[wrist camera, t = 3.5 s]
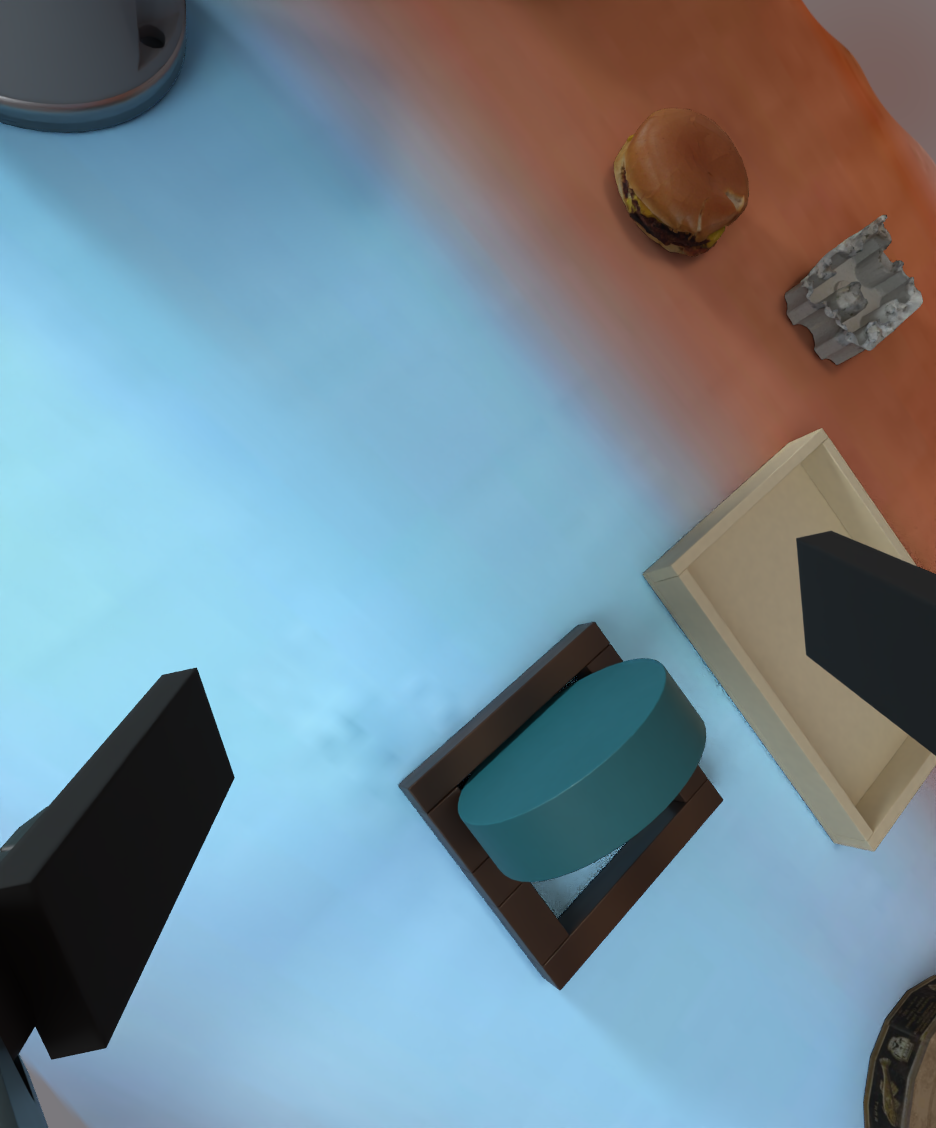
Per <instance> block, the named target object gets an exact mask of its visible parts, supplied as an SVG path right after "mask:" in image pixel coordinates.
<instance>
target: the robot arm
mask: <svg viewBox="0 0 936 1128" xmlns="http://www.w3.org/2000/svg"><path fill="white" fill-rule="evenodd" d="M185 50H186V4H185V0H0V122H1V123H5V124H9V125H13V126H17V127H22V128H27V129H33V130H40V131H50V132H81V131H90V130H97V129H102V128H106V127H110V126H114V125H117V124H120V123H123V122H126V121H128V120H130V119H132V118H134V117H137V116H138V115H140V114H142V113H143V112H145V111H147V110H148V109H150V108H151V107H152V106H154V105H155V104H156V103H157V102H158V101H159V100H160V99H161V98H162V97H163V96H164V95H165V94H166V93H167V92H168V91H169V89H170V88H171V87H172V85H173V84H174V82H175V80H176V78H177V77H178V75H179V72H180V70H181V67H182V64H183V60H184V57H185ZM796 543H797V555H798V566H799V578H800V590H801V602H802V613H803V625H804V637H805V649H806V656H808V657H809V658H810V659H812V660H813V661H814V662H815V663H817V664H818V665H819V666H821V667H822V668H823V669H824V670H826V671H827V672H828V673H830V674H831V675H832V676H833V677H835V678H836V679H837V680H839V681H840V682H841V683H842V684H844V685H845V686H846V687H848V688H849V689H850V690H851V691H853V692H854V693H855V694H857V695H858V696H859V697H860V698H862V699H863V700H864V701H866V702H867V703H868V704H869V705H871V706H872V707H873V708H875V709H876V710H877V711H879V712H880V713H881V714H882V715H884V716H885V717H886V718H888V719H889V720H890V721H891V722H893V723H894V724H895V725H897V726H898V727H899V728H900V729H902V730H903V731H904V732H906V733H907V734H908V735H909V736H911V737H912V738H913V739H915V740H916V741H917V742H918V743H920V744H921V745H922V746H924V747H925V748H926V749H927V750H929V751H930V752H931V753H933V754H934V755H935V756H936V574H934V573H932V572H929V571H927V570H925V569H922V568H920V567H917V566H915V565H913V564H910V563H908V562H905V561H903V560H901V559H898V558H896V557H893V556H891V555H889V554H886V553H884V552H881V551H879V550H877V549H874V548H872V547H869V546H867V545H865V544H862V543H860V542H857V541H855V540H853V539H850V538H848V537H845V536H843V535H841V534H838V533H836V532H833V531H827V532H823V533H818V534H813V535H809V536H804V537H799V538H796ZM234 778H235V777H234V774H233V771H232V769H231V766H230V763H229V760H228V757H227V754H226V751H225V748H224V745H223V742H222V739H221V737H220V734H219V731H218V728H217V725H216V722H215V719H214V716H213V713H212V710H211V707H210V704H209V702H208V699H207V696H206V693H205V690H204V687H203V684H202V681H201V678H200V675H199V672H198V670H197V668H193V669H188V670H183V671H179V672H174V673H169V674H165V675H162V676H161V677H160V678H159V679H158V680H157V682H156V683H155V684H154V685H153V686H152V687H151V689H150V690H149V691H148V692H147V693H146V694H145V695H144V697H143V698H142V699H141V700H140V701H139V702H138V704H137V705H136V706H135V707H134V708H133V709H132V710H131V712H130V713H129V714H128V715H127V716H126V717H125V719H124V720H123V721H122V722H121V723H120V724H119V726H118V727H117V728H116V729H115V730H114V731H113V732H112V734H111V735H110V736H109V737H108V738H107V739H106V741H105V742H104V743H103V744H102V745H101V746H100V747H99V749H98V750H97V751H96V752H95V753H94V754H93V756H92V757H91V758H90V759H89V760H88V761H87V763H86V764H85V765H84V766H83V767H82V768H81V769H80V771H79V772H78V773H77V774H76V775H75V776H74V778H73V779H72V780H71V781H70V782H69V783H68V784H67V786H66V787H65V788H64V789H63V790H62V791H61V793H60V794H59V795H58V796H57V797H56V798H55V799H54V801H53V802H52V803H51V804H50V805H49V806H48V807H46V808H45V809H43V810H42V811H41V812H39V813H38V814H37V815H35V816H34V817H33V818H31V819H30V820H29V821H27V822H26V823H25V824H23V825H22V826H21V827H19V828H18V829H17V830H16V832H15V833H14V834H13V835H12V836H11V837H10V838H9V839H8V841H7V842H6V843H5V844H4V845H3V846H2V847H1V848H0V1128H48V1126H47V1123H46V1120H45V1117H44V1114H43V1112H42V1109H41V1106H40V1103H39V1101H38V1098H37V1095H36V1092H35V1090H34V1087H33V1084H32V1081H31V1079H30V1076H29V1073H28V1071H27V1069H26V1067H25V1065H24V1063H23V1061H22V1059H21V1057H20V1055H19V1052H20V1051H21V1049H22V1047H23V1046H24V1044H25V1042H26V1041H27V1039H28V1037H29V1036H30V1034H31V1032H32V1031H33V1029H34V1027H36V1029H37V1031H38V1033H39V1035H40V1037H41V1039H42V1041H43V1043H44V1045H45V1047H46V1049H47V1051H48V1053H49V1055H50V1058H51V1060H52V1059H57V1058H61V1057H66V1056H71V1055H76V1054H80V1053H85V1052H90V1051H95V1050H99V1049H104V1048H106V1047H107V1045H108V1043H109V1041H110V1039H111V1037H112V1035H113V1032H114V1030H115V1028H116V1026H117V1024H118V1022H119V1020H120V1018H121V1016H122V1014H123V1011H124V1009H125V1007H126V1005H127V1003H128V1001H129V999H130V997H131V995H132V993H133V990H134V988H135V986H136V984H137V982H138V980H139V978H140V976H141V974H142V971H143V969H144V967H145V965H146V963H147V961H148V959H149V957H150V955H151V953H152V950H153V948H154V946H155V944H156V942H157V940H158V938H159V936H160V934H161V932H162V929H163V927H164V925H165V923H166V921H167V919H168V917H169V915H170V913H171V910H172V908H173V906H174V904H175V902H176V900H177V898H178V896H179V894H180V892H181V889H182V887H183V885H184V883H185V881H186V879H187V877H188V875H189V873H190V871H191V868H192V866H193V864H194V862H195V860H196V858H197V856H198V854H199V852H200V849H201V847H202V845H203V843H204V841H205V839H206V837H207V835H208V833H209V831H210V828H211V826H212V824H213V822H214V820H215V818H216V816H217V814H218V812H219V810H220V807H221V805H222V803H223V801H224V799H225V797H226V795H227V793H228V791H229V788H230V786H231V784H232V782H233V780H234Z"/></svg>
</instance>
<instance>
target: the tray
mask: <svg viewBox="0 0 936 1128" xmlns="http://www.w3.org/2000/svg"><path fill="white" fill-rule="evenodd" d="M827 531H833V532H836V533H838V534H841V535H843V536H845V537H848V538H850V539H853V540H855V541H857V542H860V543H862V544H865V545H867V546H869V547H872V548H874V549H877V550H879V551H881V552H884V553H886V554H889V555H891V556H893V557H896V558H898V559H901V560H903V561H905V562H908V563H910V564H913V565H915V566H916V564H915V563H914V561H913V560H912V558H911V557H910V555H909V554H908V552H907V551H906V550H905V548H904V547H903V545H902V544H901V542H900V541H899V539H898V538H897V536H896V535H895V534H894V532H893V531H892V529H891V528H890V526H889V525H888V523H887V522H886V520H885V519H884V517H883V516H882V515H881V513H880V512H879V510H878V509H877V507H876V506H875V504H874V503H873V501H872V500H871V498H870V497H869V496H868V494H867V493H866V491H865V490H864V488H863V487H862V485H861V484H860V482H859V481H858V479H857V478H856V477H855V475H854V474H853V472H852V471H851V469H850V468H849V466H848V465H847V463H846V462H845V461H844V459H843V458H842V456H841V455H840V453H839V452H838V450H837V449H836V447H835V446H834V444H833V443H832V442H831V440H830V439H829V438H828V436H827V435H826V433H825V432H824V430H823V429H822V428H821V429H819V430H816V431H814V432H812V433H810V434H807V435H805V436H803V437H801V438H799V439H796V440H794V441H792V442H789V443H788V444H787V445H786V446H785V447H784V448H783V449H781V450H780V451H779V452H778V453H777V454H776V455H775V456H774V457H772V458H771V459H770V460H769V461H768V462H767V463H766V464H765V465H764V466H762V467H761V468H760V469H759V470H758V471H757V472H756V473H755V474H753V475H752V476H751V477H750V478H749V479H748V480H747V481H746V482H745V483H743V484H742V485H741V486H740V487H739V488H738V489H737V490H736V491H734V492H733V493H732V494H731V495H730V496H729V497H728V498H727V499H725V500H724V501H723V502H722V503H721V504H720V505H719V506H718V507H717V508H715V509H714V510H713V511H712V512H711V513H710V514H709V515H708V516H706V517H705V518H704V519H703V520H702V521H701V522H700V523H699V524H698V525H696V526H695V527H694V528H693V529H692V530H691V531H690V532H689V533H687V534H686V535H685V536H684V537H683V538H682V539H681V540H680V541H679V542H677V543H676V544H675V545H674V546H673V547H672V548H671V549H670V550H668V551H667V552H666V553H665V554H664V555H663V556H662V557H661V558H660V559H658V560H657V561H656V562H655V563H654V564H653V565H652V566H651V567H649V568H648V569H647V570H646V571H645V572H644V573H643V576H644V577H645V579H646V580H647V582H648V583H649V584H650V586H651V587H652V589H653V590H654V591H655V593H656V594H657V596H658V597H659V598H660V600H661V601H662V603H663V604H664V605H665V607H666V608H667V610H668V611H669V612H670V614H671V615H672V617H673V618H674V619H675V621H676V622H677V624H678V625H679V626H680V628H681V629H682V631H683V632H684V633H685V635H686V636H687V638H688V639H689V640H690V642H691V643H692V645H693V646H694V647H695V649H696V650H697V652H698V653H699V654H700V656H701V657H702V659H703V660H704V661H705V663H706V664H707V666H708V667H709V668H710V670H711V671H712V673H713V674H714V675H715V677H716V678H717V680H718V681H719V682H720V684H721V685H722V687H723V688H724V689H725V691H726V692H727V694H728V695H729V696H730V698H731V699H732V701H733V702H734V703H735V705H736V706H737V708H738V709H739V710H740V712H741V713H742V715H743V716H744V717H745V719H746V720H747V722H748V723H749V724H750V726H751V727H752V729H753V730H754V731H755V733H756V734H757V736H758V737H759V738H760V740H761V741H762V743H763V744H764V745H765V747H766V748H767V750H768V751H769V752H770V754H771V755H772V757H773V758H774V759H775V761H776V762H777V764H778V765H779V766H780V768H781V769H782V771H783V772H784V773H785V775H786V776H787V778H788V779H789V780H790V782H791V783H792V785H793V786H794V787H795V789H796V790H797V792H798V793H799V794H800V796H801V797H802V799H803V800H804V801H805V803H806V804H807V806H808V807H809V808H810V810H811V811H812V813H813V814H814V815H815V817H816V818H817V820H818V821H819V822H820V824H821V825H822V827H823V828H824V829H825V831H826V832H827V834H828V835H829V836H830V838H831V839H832V841H833V842H834V843H836V844H841V845H845V846H850V847H855V848H859V849H864V850H869V851H875V850H876V848H877V847H878V846H879V844H880V843H881V841H882V840H883V839H884V837H885V836H886V834H887V833H888V831H889V830H890V829H891V827H892V826H893V824H894V823H895V822H896V820H897V819H898V817H899V816H900V815H901V813H902V812H903V810H904V809H905V808H906V806H907V805H908V803H909V802H910V800H911V799H912V798H913V796H914V795H915V793H916V792H917V791H918V789H919V788H920V786H921V785H922V784H923V782H924V781H925V779H926V778H927V777H928V775H929V774H930V772H931V771H932V769H933V768H934V767H935V765H936V756H935V755H934V754H933V753H931V752H930V751H929V750H927V749H926V748H925V747H924V746H922V745H921V744H920V743H918V742H917V741H916V740H915V739H913V738H912V737H911V736H909V735H908V734H907V733H906V732H904V731H903V730H902V729H900V728H899V727H898V726H897V725H895V724H894V723H893V722H891V721H890V720H889V719H888V718H886V717H885V716H884V715H882V714H881V713H880V712H879V711H877V710H876V709H875V708H873V707H872V706H871V705H869V704H868V703H867V702H866V701H864V700H863V699H862V698H860V697H859V696H858V695H857V694H855V693H854V692H853V691H851V690H850V689H849V688H848V687H846V686H845V685H844V684H842V683H841V682H840V681H839V680H837V679H836V678H835V677H833V676H832V675H831V674H830V673H828V672H827V671H826V670H824V669H823V668H822V667H821V666H819V665H818V664H817V663H815V662H814V661H813V660H812V659H810V658H809V657H808V656H806V649H805V637H804V625H803V613H802V602H801V590H800V578H799V566H798V555H797V543H796V538H799V537H804V536H809V535H813V534H818V533H823V532H827Z"/></svg>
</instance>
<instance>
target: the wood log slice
mask: <svg viewBox="0 0 936 1128" xmlns="http://www.w3.org/2000/svg"><path fill="white" fill-rule="evenodd" d="M863 1103H864V1120H865V1128H936V975H933V976H931V977H930V978H928V979H926V980H925V981H923V982H921V983H920V984H918V985H916V986H915V987H913V988H912V989H910V990H908V991H907V992H906V993H905V995H904V996H903V997H902V999H901V1000H900V1001H899V1002H898V1004H897V1005H896V1006H895V1008H894V1009H893V1010H892V1011H891V1013H890V1014H889V1015H888V1017H887V1018H886V1019H885V1022H884V1024H883V1027H882V1029H881V1032H880V1034H879V1037H878V1039H877V1042H876V1044H875V1047H874V1049H873V1052H872V1054H871V1057H870V1063H869V1069H868V1076H867V1083H866V1089H865V1096H864V1102H863Z"/></svg>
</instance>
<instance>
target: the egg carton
mask: <svg viewBox="0 0 936 1128" xmlns="http://www.w3.org/2000/svg"><path fill="white" fill-rule="evenodd" d="M886 218H887V215H882V216H880V217H878V218H877V219H876V220H875V221H874V222H872V223H871V224H869V225H868V226H866V227H865V228H864V229H862V230H861V231H859V232H858V233H856V234H854V235H852V236H851V237H849V238H848V239H846V240H844V241H843V242H842V243H841V244H839V245H838V246H837V247H836V248H834V249H833V250H831V251H830V252H828V253H827V254H826V255H825V256H824V257H823V258H822V259H821V260H820V261H819V262H818V263H817V264H816V266H815V267H814V268H813V269H812V270H811V271H810V273H809V274H808V275H807V276H806V277H805V278H804V279H803V280H802V281H801V282H800V283H799V284H798V285H796V286H795V287H793V288H792V289H790V290H789V291H788V292H786V294H785V299H786V302H787V308H788V309H787V315H788V317H789V318H790V320H791V321H792V324H793V325H795V324H802V325H804V326H807V328H808V329H809V330H810V331H811V333H813V337H814V340H815V348H814V350H815V352H816V353H817V354H818V355H819V357H820V358H821V359H825V358H826V359H830V360H832V361H833V362H834V363H835V364H836V365H838V364H840V363H842V362H844V361H846V360H848V359H849V358H851V357H853V356H855V355H857V354H858V353H860V352H862V351H864V350H865V349H866V350H868V351H870V350H872V349H873V348H874V347H876V345H877V344H878V343H879V342H881V341H882V340H884V338H885V337H886V336H888V335H889V334H890V333H892V332H893V331H894V330H895V329H896V328H897V327H898V326H899V325H900V324H901V323H902V322H903V321H904V320H905V319H906V318H908V317H909V316H910V315H911V314H912V313H913V312H914V311H916V310H917V309H918V308H919V307H920V306H921V304H922V303H923V299H922V296H921V292H919V291H918V290H917V289H916V287H915V286H914V278H913V277H911V278H909V277H908V276H907V275H906V274H905V273H904V271H903V268H902V266H903V265H904V263H903V262H902V261H895V262H894V263H892V262H891V261H890V260H889V259H888V257H887V256H886V255H885V254H884V253H883V250H885V249H887V247H888V246H889V244H890V243H891V236H890V234H889V232H888V231H887V230H886V229H885V228H884V224H883V222H885V219H886Z"/></svg>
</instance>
